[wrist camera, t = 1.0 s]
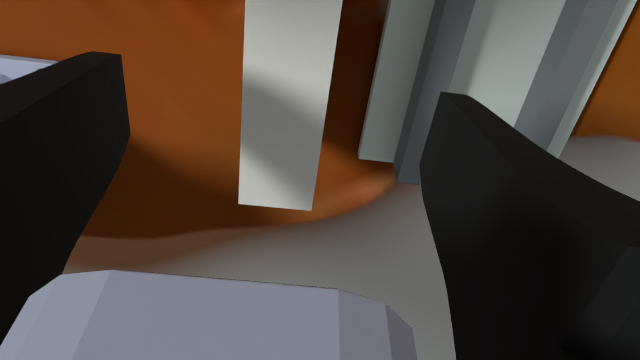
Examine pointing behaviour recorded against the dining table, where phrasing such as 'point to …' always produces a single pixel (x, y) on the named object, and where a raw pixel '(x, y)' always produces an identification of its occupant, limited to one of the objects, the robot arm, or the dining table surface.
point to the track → (486, 68)
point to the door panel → (285, 98)
